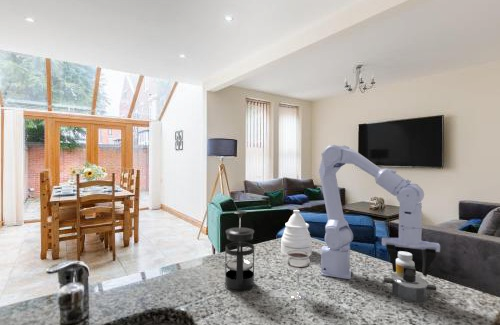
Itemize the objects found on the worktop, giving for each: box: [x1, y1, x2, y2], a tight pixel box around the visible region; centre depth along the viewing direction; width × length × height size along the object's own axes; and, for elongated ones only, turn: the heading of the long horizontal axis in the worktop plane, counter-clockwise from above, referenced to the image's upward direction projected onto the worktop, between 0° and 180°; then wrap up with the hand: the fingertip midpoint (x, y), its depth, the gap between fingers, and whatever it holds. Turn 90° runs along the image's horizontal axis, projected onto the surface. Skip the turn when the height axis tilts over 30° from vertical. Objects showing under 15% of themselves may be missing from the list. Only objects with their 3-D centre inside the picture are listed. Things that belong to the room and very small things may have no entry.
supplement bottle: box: [394, 250, 416, 274], centre depth 87 cm, size 5×5×10 cm
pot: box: [383, 277, 437, 304], centre depth 80 cm, size 13×9×4 cm, turn 69°
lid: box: [391, 266, 429, 289], centre depth 80 cm, size 9×9×4 cm
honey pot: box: [280, 209, 313, 257], centre depth 116 cm, size 13×13×18 cm
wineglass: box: [286, 250, 311, 300], centre depth 80 cm, size 7×7×12 cm
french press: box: [224, 210, 255, 293], centre depth 85 cm, size 12×9×23 cm
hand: (409, 272), depth 80 cm, fingers open, 7 cm apart
